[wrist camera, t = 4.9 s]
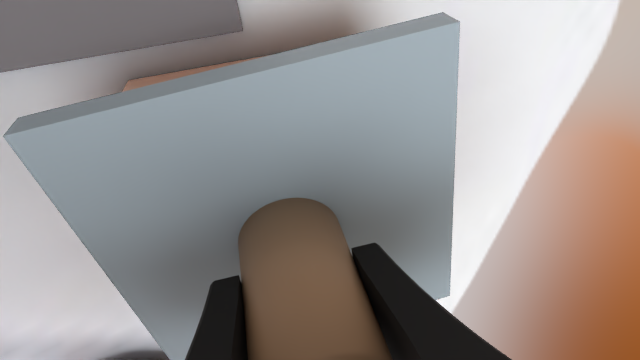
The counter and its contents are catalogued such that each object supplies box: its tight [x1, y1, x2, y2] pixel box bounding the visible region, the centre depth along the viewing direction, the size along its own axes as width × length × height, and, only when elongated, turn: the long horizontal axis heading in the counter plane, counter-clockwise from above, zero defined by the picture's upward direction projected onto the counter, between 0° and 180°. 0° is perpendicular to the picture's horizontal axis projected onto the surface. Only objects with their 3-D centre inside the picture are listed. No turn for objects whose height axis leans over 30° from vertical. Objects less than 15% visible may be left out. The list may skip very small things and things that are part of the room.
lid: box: [3, 12, 460, 360], centre depth 10 cm, size 10×10×5 cm
